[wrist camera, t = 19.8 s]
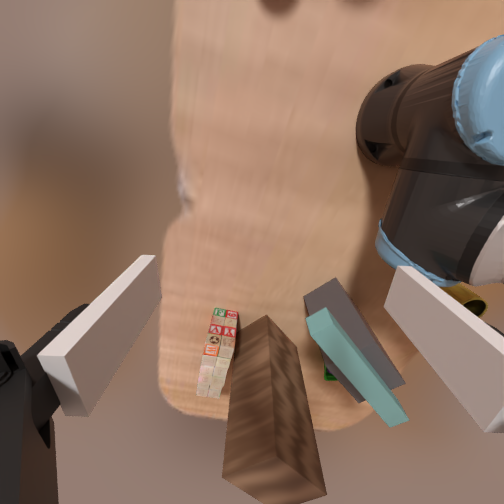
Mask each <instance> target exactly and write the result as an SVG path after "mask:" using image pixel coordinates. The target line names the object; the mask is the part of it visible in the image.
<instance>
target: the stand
mask: <svg viewBox="0 0 504 504" xmlns="http://www.w3.org/2000/svg"><path fill="white" fill-rule="evenodd" d="M226 433H227V434H226V442H225V453H224V462H223V472H222V478H224V479H225V480H227V481H228V482H230V483H232V484H233V485H235V486H236V487H238V488H240V489H241V490H243V491H244V492H246V493H248V494H249V495H251V496H252V497H254V498H255V499H257V500H258V501H260V502H262V503H263V504H300V503H304V502H306V501H310V500H313V499H316V498H319V497H322V496H325V495H327V492H326V488H325V483H324V478H323V473H322V468H321V464H320V458H319V453H318V449H317V444H316V439H315V434H314V429H313V424H312V419H311V415H310V410H309V405H308V400H307V395H306V390H305V385H304V380H303V376H302V371H301V366H300V361H299V356H298V351H297V347H296V346H295V345H294V344H293V342H292V341H291V340H290V339H289V338H288V337H287V336H286V335H285V334H284V333H283V332H282V331H281V330H280V328H279V327H278V326H277V325H276V324H275V323H274V322H273V321H272V320H271V319H270V318H269V317H268V315H265V316H263V317H262V318H260V319H258V320H257V321H255V322H253V323H252V324H250V325H248V326H247V327H245V328H243V329H242V330H240V331H238V332H237V333H236V343H235V353H234V363H233V373H232V383H231V393H230V402H229V412H228V422H227V432H226Z"/></svg>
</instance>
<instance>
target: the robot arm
mask: <svg viewBox="0 0 504 504" xmlns="http://www.w3.org/2000/svg"><path fill="white" fill-rule="evenodd" d="M356 135H357V140H358V144H359V146H360V148H361V150H362V152H363V153H364V155H365V156H366V157H367V158H368V159H370V160H371V161H373V162H375V163H377V164H380V165H385V166H393V167H396V166H400V167H399V170H398V173H397V175H396V178H395V181H394V184H393V187H392V190H391V193H390V196H389V199H388V201H387V204H386V207H385V210H384V213H383V216H382V218H381V219H380V221H379V230H378V233H377V237H376V240H375V247H376V249H377V252H378V254H379V256H380V257H381V258H382V259H383V260H384V261H385V262H386V263H387V264H388V265H390V266H391V267H392V268H394V269H395V270H396V272H395V275H394V278H393V281H392V284H391V287H390V290H389V293H388V295H387V298H386V301H385V304H384V308H385V309H386V310H387V312H388V313H389V314H390V315H391V317H392V318H393V319H394V320H395V322H396V323H397V324H398V325H399V327H400V328H401V329H402V330H403V332H404V333H405V334H406V335H407V337H408V338H409V339H410V341H411V342H412V343H413V344H414V346H415V347H416V348H417V349H418V351H419V352H420V353H421V354H422V355H423V357H424V358H425V359H426V360H427V362H428V363H429V364H430V365H431V367H432V368H433V369H434V371H435V372H436V373H437V374H438V376H439V377H440V378H441V379H442V380H443V382H444V383H445V384H446V385H447V387H448V388H449V389H450V391H451V392H452V393H453V394H454V395H455V397H456V398H457V399H458V401H459V402H460V403H461V404H462V406H463V407H464V408H465V409H466V411H467V412H468V413H469V414H470V416H471V417H472V418H473V419H474V421H475V422H476V423H477V424H478V426H479V427H480V428H481V429H482V430H483V432H494V433H504V334H503V333H502V332H500V331H499V330H498V329H497V328H495V327H493V326H491V325H489V324H488V323H486V322H484V321H482V320H481V319H479V318H478V317H477V316H476V315H474V314H473V313H472V312H470V311H469V310H468V309H466V308H465V307H464V306H463V305H461V304H460V303H459V302H457V301H456V300H455V299H453V298H452V297H451V296H450V295H448V294H447V293H446V292H444V291H443V290H442V289H440V288H439V287H452V286H455V285H457V284H458V283H460V282H464V283H467V284H469V285H472V286H481V285H486V284H491V283H503V284H504V35H500V36H498V37H496V38H492V39H490V40H488V41H486V42H485V43H483V44H482V45H480V46H478V47H476V48H474V49H472V50H470V51H467V52H465V53H463V54H461V55H459V56H456V57H454V58H452V59H450V60H448V61H445V62H443V63H441V64H439V65H437V66H432V65H425V64H416V65H410V66H406V67H403V68H401V69H398V70H397V71H395V72H393V73H391V74H389V75H387V76H386V77H384V78H383V79H382V80H380V81H379V82H378V83H377V84H376V85H375V86H374V87H373V88H372V89H371V91H370V92H369V93H368V95H367V96H366V98H365V99H364V101H363V103H362V105H361V108H360V111H359V114H358V118H357V124H356ZM161 299H162V294H161V287H160V280H159V273H158V266H157V259H156V256H155V255H141V256H140V257H139V258H138V259H137V260H136V261H135V262H134V263H133V264H132V265H131V266H130V267H129V268H128V269H127V270H125V271H124V272H123V273H122V274H121V275H120V276H119V277H118V278H117V279H116V280H115V281H114V282H113V283H112V284H111V285H110V286H109V287H108V288H107V289H106V290H105V291H104V292H102V293H101V294H100V295H99V296H98V297H97V298H96V299H95V300H94V301H93V302H92V303H91V304H83V305H81V306H79V307H78V308H76V309H74V310H72V311H71V312H69V313H68V314H67V315H66V316H65V317H64V318H63V319H62V320H60V323H57V324H56V325H55V326H54V327H53V328H52V329H51V331H48V332H47V333H46V334H45V335H44V336H43V337H42V338H40V339H39V340H38V341H37V342H36V343H35V344H34V345H33V346H32V347H30V348H29V349H28V350H27V351H26V352H25V353H24V354H22V355H21V356H20V355H19V352H18V350H17V349H16V347H15V345H14V343H13V342H10V341H8V340H4V341H0V504H58V486H57V468H56V451H55V431H54V421H53V419H52V417H51V416H52V415H53V413H54V412H55V411H56V409H57V408H58V407H59V405H61V407H62V409H63V411H64V414H65V416H84V417H89V415H90V414H91V412H92V411H93V409H94V407H95V406H96V404H97V402H98V401H99V399H100V398H101V396H102V394H103V393H104V391H105V389H106V388H107V386H108V385H109V383H110V381H111V380H112V378H113V376H114V375H115V373H116V372H117V370H118V368H119V367H120V365H121V363H122V362H123V360H124V359H125V357H126V355H127V354H128V352H129V350H130V349H131V347H132V346H133V344H134V342H135V341H136V339H137V338H138V336H139V334H140V332H141V331H142V329H143V328H144V326H145V325H146V323H147V321H148V320H149V318H150V316H151V315H152V313H153V312H154V310H155V308H156V307H157V305H158V303H159V302H160V300H161Z"/></svg>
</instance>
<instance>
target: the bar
mask: <svg viewBox="0 0 504 504" xmlns="http://www.w3.org/2000/svg"><path fill="white" fill-rule="evenodd" d="M306 321H307V325H308V328H309V332H310V335H311V337H312V338H313V339H314V340H315V341H316V342H317V344H318V345H319V346H320V347H321V348H322V349H323V351H324V352H325V353H326V354H327V355H328V356H329V358H330V359H331V360H332V361H333V362H334V363H335V365H336V366H337V367H338V368H339V369H340V370H341V371H342V373H343V374H344V375H345V376H346V377H347V378H348V380H349V381H350V382H351V383H352V384H353V385H354V387H355V388H356V389H357V390H358V391H359V392H360V394H361V395H362V396H363V397H364V398H365V399H366V400H367V402H368V403H369V404H370V405H371V406H372V407H373V409H374V410H375V411H376V412H377V413H378V414H379V416H380V417H381V418H382V419H383V420H384V421H385V423H386V424H387V425H388V426H389V427H393V426H396V425H398V424H401V423H403V422H406V421H409V419H408V417H407V415H406V413H405V411H404V410H403V408H402V406H401V404H400V403H399V401H398V399H397V398H396V397H395V396H394V394H393V393H392V392H391V390H390V389H389V388H388V386H387V385H386V384H385V382H384V381H383V380H382V379H381V377H380V376H379V375H378V373H377V372H376V371H375V370H374V368H373V367H372V366H371V364H370V363H369V362H368V361H367V359H366V358H365V357H364V355H363V354H362V353H361V351H360V350H359V349H358V348H357V346H356V345H355V344H354V342H353V341H352V340H351V339H350V337H349V336H348V335H347V333H346V332H345V331H344V330H343V328H342V327H341V326H340V324H339V323H338V322H337V321H336V319H335V318H334V317H333V315H332V314H331V313H330V312H329V310H328V309H327V308H326V307H325V308H323V309H322V310H320V311H318V312H316V313H314V314H313V315H311V316H309V317H307V318H306Z"/></svg>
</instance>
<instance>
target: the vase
mask: <svg viewBox="0 0 504 504" xmlns="http://www.w3.org/2000/svg"><path fill="white" fill-rule="evenodd" d="M439 288H440V289H442V290H443V291H444V292H446V293H447V294H448V295H450V296H451V297H452V298H453V299H455V300H456V301H457V302H459V303H460V304H461V305H463V306H464V307H465V308H466V309H468V310H469V311H470V312H472V313H473V314H474V315H476V316H477V317H478V318H480V317H481V316H483V315H484V314H485V312H486V311H487V308H488V304H487V302H486V301H485V300H483V299H482V298H481V297H480V296H478V295H477V294H475V293H474V292H472V291H471V290H469V289H468V288H466V287H465V286H463V285H462V284H460V283H458V284H457V285H455V286H452V287H439Z"/></svg>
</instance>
